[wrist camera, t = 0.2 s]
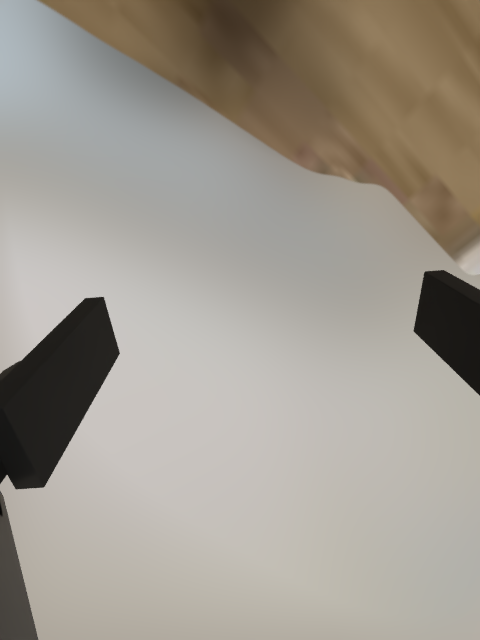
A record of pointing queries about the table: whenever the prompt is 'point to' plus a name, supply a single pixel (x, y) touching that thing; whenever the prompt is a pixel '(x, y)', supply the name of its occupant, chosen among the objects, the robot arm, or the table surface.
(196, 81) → the table surface
